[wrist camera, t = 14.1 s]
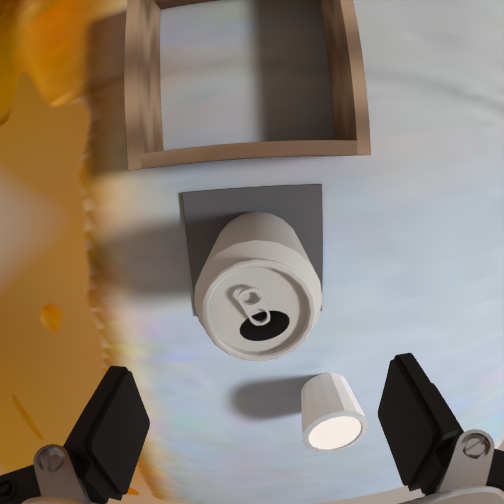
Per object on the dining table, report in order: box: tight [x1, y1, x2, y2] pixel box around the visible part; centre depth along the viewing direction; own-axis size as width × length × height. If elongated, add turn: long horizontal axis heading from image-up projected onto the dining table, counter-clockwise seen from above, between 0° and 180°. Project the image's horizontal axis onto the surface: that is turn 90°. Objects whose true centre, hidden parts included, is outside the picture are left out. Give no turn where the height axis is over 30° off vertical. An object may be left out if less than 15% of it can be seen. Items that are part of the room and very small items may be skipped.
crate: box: [124, 0, 371, 170], centre depth 21 cm, size 17×17×6 cm
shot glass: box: [301, 373, 369, 453], centre depth 30 cm, size 7×7×7 cm
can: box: [194, 212, 323, 361], centre depth 22 cm, size 8×8×12 cm
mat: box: [182, 184, 323, 317], centre depth 28 cm, size 12×12×1 cm
